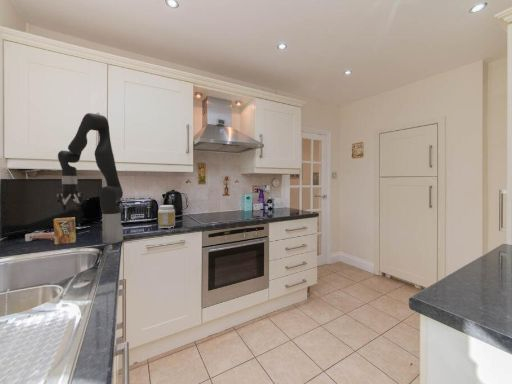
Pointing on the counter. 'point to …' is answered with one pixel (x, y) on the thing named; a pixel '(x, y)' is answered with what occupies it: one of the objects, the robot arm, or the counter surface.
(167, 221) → the supplement tub
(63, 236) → the candy box
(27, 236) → the steel keeper
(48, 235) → the link
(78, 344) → the counter surface
